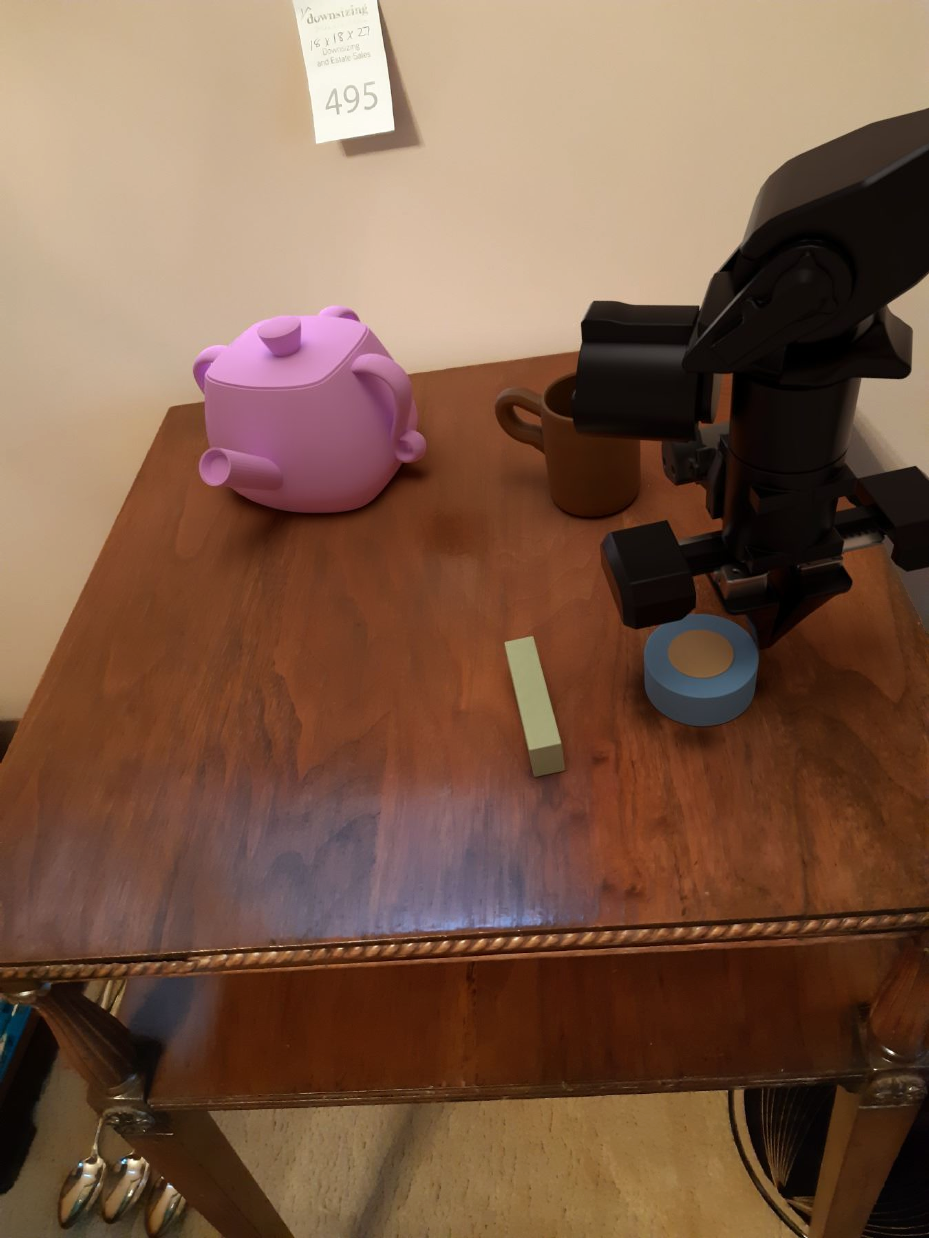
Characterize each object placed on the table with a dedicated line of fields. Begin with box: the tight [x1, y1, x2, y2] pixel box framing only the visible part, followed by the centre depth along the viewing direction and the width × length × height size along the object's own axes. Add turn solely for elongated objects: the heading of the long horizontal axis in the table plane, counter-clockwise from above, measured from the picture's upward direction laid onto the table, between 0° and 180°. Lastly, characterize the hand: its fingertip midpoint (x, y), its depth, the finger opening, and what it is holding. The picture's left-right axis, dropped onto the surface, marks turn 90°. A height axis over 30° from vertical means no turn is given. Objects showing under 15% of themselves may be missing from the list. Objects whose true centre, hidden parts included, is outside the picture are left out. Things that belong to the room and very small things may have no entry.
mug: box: [494, 370, 642, 518], centre depth 68 cm, size 12×8×9 cm, turn 64°
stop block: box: [504, 635, 566, 778], centre depth 54 cm, size 2×9×3 cm, turn 8°
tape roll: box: [643, 613, 760, 727], centre depth 54 cm, size 7×7×3 cm
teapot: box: [192, 305, 428, 514], centre depth 74 cm, size 19×21×14 cm
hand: (761, 643), depth 53 cm, fingers closed
